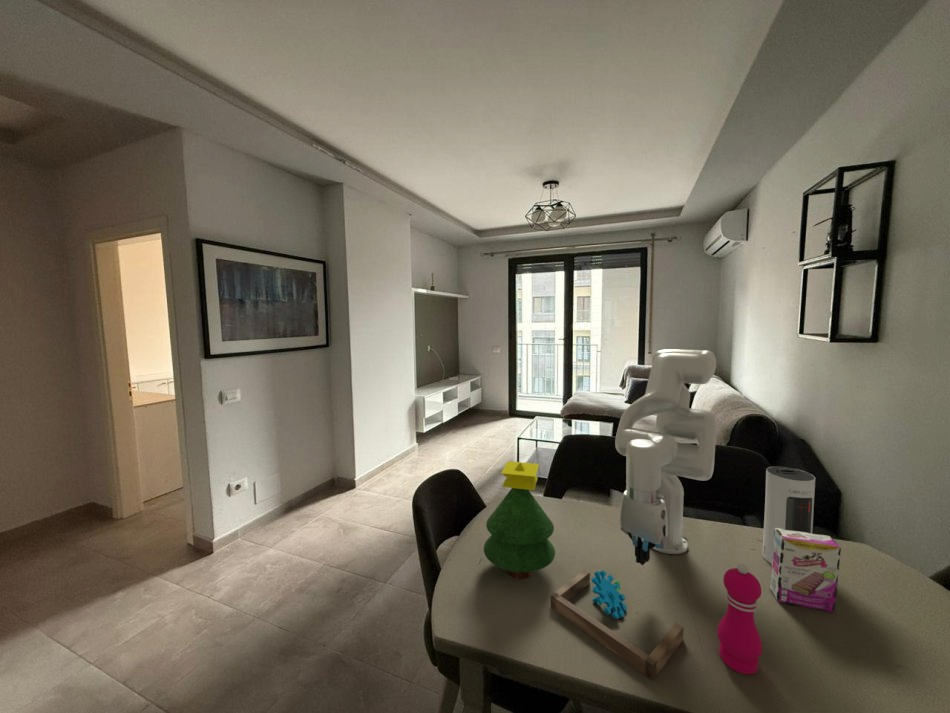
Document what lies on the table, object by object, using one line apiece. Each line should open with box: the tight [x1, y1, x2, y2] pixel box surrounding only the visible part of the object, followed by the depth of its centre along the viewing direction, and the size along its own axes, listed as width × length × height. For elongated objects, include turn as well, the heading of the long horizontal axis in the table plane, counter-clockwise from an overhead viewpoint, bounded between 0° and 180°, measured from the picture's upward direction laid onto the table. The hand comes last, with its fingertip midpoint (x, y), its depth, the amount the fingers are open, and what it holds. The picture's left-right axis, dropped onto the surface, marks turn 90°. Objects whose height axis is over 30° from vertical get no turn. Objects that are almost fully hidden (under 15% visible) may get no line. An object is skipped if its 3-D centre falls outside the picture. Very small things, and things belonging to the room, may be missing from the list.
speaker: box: [761, 465, 816, 565], centre depth 103 cm, size 11×10×26 cm
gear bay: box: [550, 569, 685, 681], centre depth 83 cm, size 14×24×3 cm, turn 40°
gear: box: [591, 569, 628, 620], centre depth 88 cm, size 11×6×10 cm
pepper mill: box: [716, 563, 763, 675], centre depth 73 cm, size 7×7×20 cm
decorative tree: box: [483, 460, 556, 580], centre depth 100 cm, size 19×19×30 cm
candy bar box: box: [769, 528, 842, 613], centre depth 88 cm, size 11×5×16 cm, turn 71°
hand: (642, 560), depth 92 cm, fingers closed
